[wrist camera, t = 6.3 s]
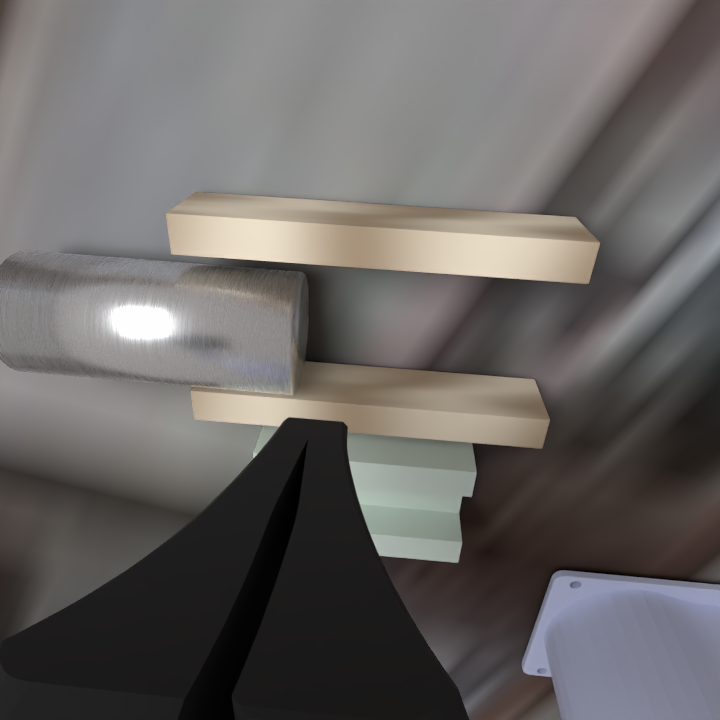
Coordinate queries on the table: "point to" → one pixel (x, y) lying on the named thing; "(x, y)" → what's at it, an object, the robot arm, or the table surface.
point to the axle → (154, 321)
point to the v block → (408, 491)
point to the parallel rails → (390, 252)
